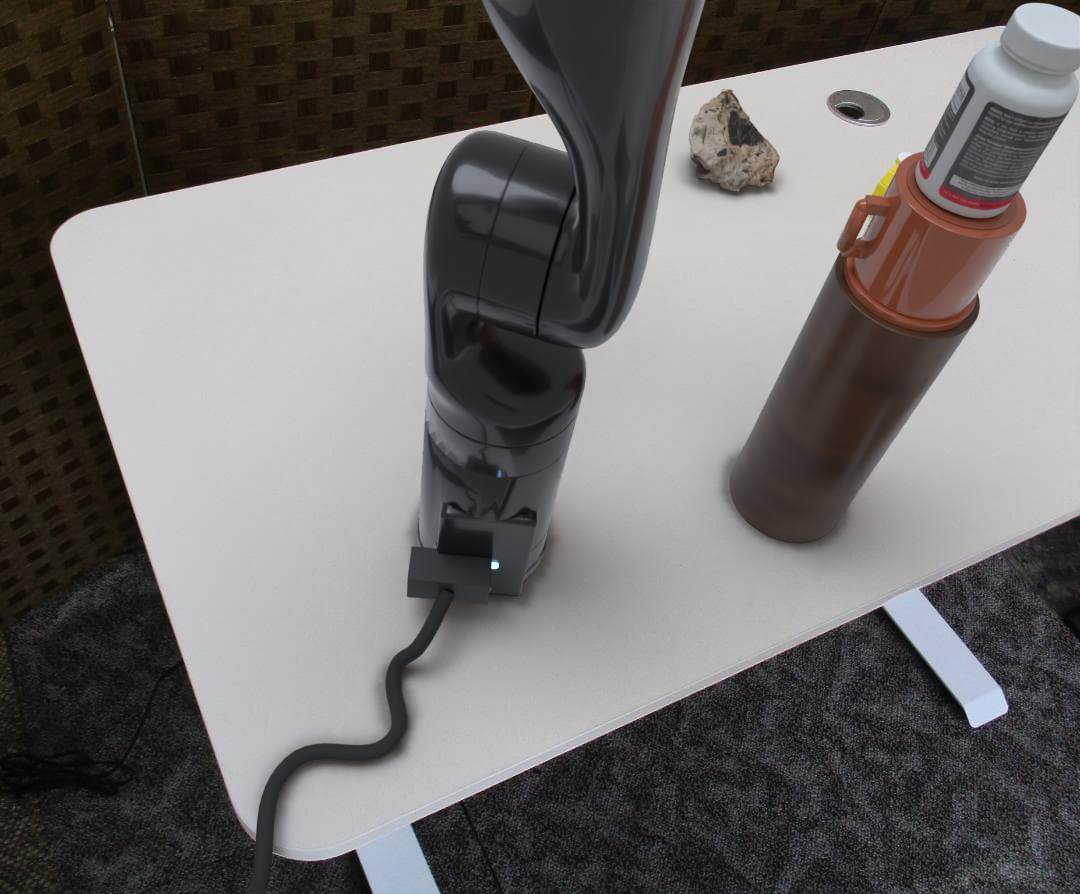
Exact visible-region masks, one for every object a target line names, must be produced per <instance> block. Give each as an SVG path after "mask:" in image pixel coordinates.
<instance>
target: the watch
mask: <svg viewBox="0 0 1080 894" xmlns="http://www.w3.org/2000/svg"><path fill="white" fill-rule="evenodd" d="M912 154H914V153H913V152H910V151H903V152H900V153H899V154H898V155H897V157H896V159H895V165H894V166H892V167H891V168H890V169H889V170H888V171H887V172H886V173H885V174H884V175H883V176H882V178H881V179H880V180H879V182H878V183H877V185H876V186H875V188H874V190H873V192H872V194H871V195H874V196H882V197H883V195H884V193H885V191H886V189H887V187H888V185H889V183H890V181H891V179H892V177H893V175H894V173H895V171H896V169H897V167H898V165H899V164H900V163H901V162H902V161H903V160H904V159H905V158H907V157H908V156H910V155H912Z"/></svg>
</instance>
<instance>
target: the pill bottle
mask: <svg viewBox="0 0 1080 894" xmlns="http://www.w3.org/2000/svg"><path fill="white" fill-rule="evenodd" d="M1079 69H1080V15H1079V14H1076V13H1075V12H1072V11H1070V10H1068V9H1066V8H1063V7H1060V6H1058V5H1055V4H1050V3H1043V2H1042V3H1041V2H1028V3H1024V4H1021V5H1020V6H1018V7H1016V9H1014V11H1013V13H1012V15H1011V16H1010V18H1009V19H1008V21H1007V22H1006V25H1005V27H1004V28H1003V31H1002V33H1001V34H1000V36H999V41H996V42H993V43H989V44H987V45H985V46H983V47H982V48H981V49H979V50H978V51H977V52H976V53H975V54H974V55H973V57H972V58H971V60H970V61H969V64H968V65H967V67H966V70H965V71H964V73H963V75H962V77H961V79H960V81H959V83H958V85H957V86H956V89H955V91H954V93H953V94H952V96H951V98H950V101H949V102H948V105H947V106H946V108H945V109H944V112H943V114H942V116H941V117H940V118H939V119H940V120H939V121H938V123H937V125H936V128H935V129H934V131H933V133H932V134H931V137H930V138H929V141H928V143H927V144H926V146H925V148H924V150H923V151H924V152H923V151H922V152H923V154H922V156H921V158H920V160H919V162H918V164H917V167H916V171H915V177H916V181H917V184H918V186H919V188H920V189H921V191H922V192H923V193H924V194H925V195H926V196H927V197H928V198H929V199H930V200H931V201H933V202H934V203H935V204H937V205H938V206H940V207H942V208H943V209H946V210H948V211H950V212H953V213H956V214H958V215H961V216H965V217H970V218H989V217H993V216H996V215H998V214H1000V213H1002V212H1003V211H1004V210H1006V209H1007V207H1008V206H1009V205H1010V203H1011V202H1012V200H1013V199H1014V197H1015V196H1016V194H1017V193H1018V191H1019V192H1020V190H1021V189H1022V187H1023V185H1024V183H1025V182H1026V180H1027V179H1028V177H1029V176H1030V174H1031V172H1032V171H1033V169H1034V167H1036V164H1037V162H1038V161H1039V159H1040V158H1041V157H1042V155H1043V153H1044V152H1045V150H1046V149H1047V147H1048V146H1049V144H1050V143H1051V141H1052V140H1053V138H1054V136H1055V134H1056V133H1057V132H1058V130H1059V128H1060V127H1061V126H1062V124H1063V122H1064V120H1065V119H1066V117H1068V115H1069V113H1070V111H1071V110H1072V108H1073V106H1074V104H1075V102H1076V100H1077V98H1078V95H1079V92H1080V90H1079V89H1080V86H1079V80H1078V78H1077V75H1076V74H1075V72H1076V71H1078V70H1079Z"/></svg>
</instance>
